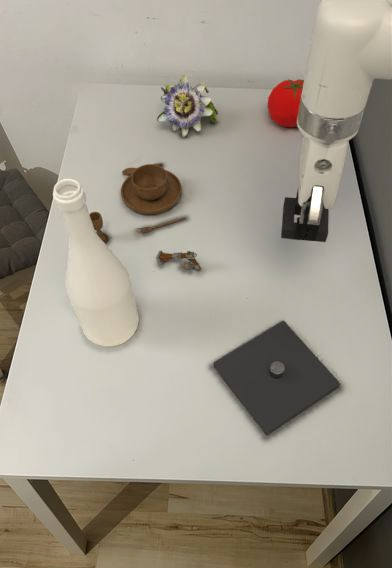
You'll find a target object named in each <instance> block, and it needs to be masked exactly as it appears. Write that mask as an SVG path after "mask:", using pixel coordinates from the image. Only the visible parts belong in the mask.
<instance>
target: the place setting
mask: <svg viewBox="0 0 392 568" xmlns="http://www.w3.org/2000/svg"><path fill="white" fill-rule="evenodd" d="M161 165H163V164H162V163H161V162H160V163H154V164H152V163H149V164H144V165H140V166H139V167H127V168H125V169H123V170H122V171H121V173H122V175H125V176H127V175H128V176H127V177H126V178H125V179H124V181H123V182H122V185H121V186H120V196H121V200H122V201H123V203H124V204H125V206H126V207H128V208H129V209H130V210H132V211H134V212H136V213H138V214H142V215H158V214H162V213H164V212H166V211H168V210H170V209H173V207H174V206H175V205H176V204H177V203H178V201H179V200H180V198H181V195H182V191H183V189H182V183H181V181H180V179H179V177H177V175H175V173H173V172H171V171H169V170H167V169H165V168H163V167H162V166H161ZM89 215H90V218H91V221H92V224H93V227H94V230H95V232H96V233H97V235H98V236H99V237H100V239H101V240H102V241H103V242H104V243H105V244H107V242H108V241H109V236H108V234H107V233H104V232H103V231H102V229H103V227H104V220H103V217H102V214H101V212H99V211H91V212H89ZM183 220H186V218H185V217H180V218H176V219H173V220H170V221H169V220H168V221H166V222H163V223H159V224H156V225H153V226H145V227H137V228H136V232H137V233H138V234H145V233H150V232H152V231H153V230H154V229H156V228H160V227H163V226H166V225H167V226H168V225H170V224H171V225H172V224H173V223H177V222H180V221H183Z"/></svg>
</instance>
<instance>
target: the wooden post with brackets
mask: <svg viewBox="0 0 392 568" xmlns="http://www.w3.org/2000/svg"><path fill="white" fill-rule="evenodd" d="M197 256H198V253H196V252H195V251H190V250H187V252H182V251H180V252H173V253H167V252H164V251H163V250H161V249H160V250H159V251H158V253H157V254H156V256H155V258H156V260H157V262H158V263H159V265H162V264H163V263H164V262H167V261H171V260H173V261H182V260H187V261H188V262H186V261H184V263H182V264H181V267H182V268H184V270H187V269H188V270H191V269H192V268H195V269H196V271H197V272H201V270H202V267H201V264H200V262H198V261H197V259H196V257H197Z"/></svg>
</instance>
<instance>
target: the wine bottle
mask: <svg viewBox="0 0 392 568" xmlns="http://www.w3.org/2000/svg"><path fill="white" fill-rule="evenodd" d="M52 197H53V200H54V202H55V206H56V208H57V209H58V210H60V214H61V217H62V220H63V223H64V226H65V229H66V232H67V236H68V239H69V240H68V242H69V243H68V244H69V245H68V246H69V247H68V255H67V263H66V264H67V265H66V271H65V291H66V294H67V297H68V300H69V302H70V304H71V307H72V309H73V312H74V313H75V316H76V319H77V320H78V323H79V325H80V328H81V330H82V332H83V334H84V336H85V337H86V338H87V339H88V340H89V341H90V342H92V343H93V344H95V345H97V346H100V347H108V348H111V347H117V346H120V345H123V344H124V343H126V342H128V341H129V340H130V339H131V338H132V337H133V336H134V334H135V333H136V332H137V329H138V327H139V321H140V317H139V312H138V307H137V303H136V299H135V295H134V290H133V286H132V281H131V277H130V274H129V271H128V269H127V268H126V266H125V265H124V264H123V263H122V261H121V259H119V257H118V256H116V254H115V253H114V252H113V250H111V249H110V248H109V246H108V245H107V243H104V242H103V241H102V240H101V239H100V237H99V236H98V235H97V233H96V232H97V231H96V230H94V227H93V224H92V221H91V218H90V215H89V214H90V212H89V208H88V206H87V203H86V202H87V196H86V192H85V188H84V186H83V185H82V184H81V183H80V182H79V181H78V180H76V179H74V178H63V179H61V180H59V181H57V182H56V183H55V184H54V186H53V191H52Z"/></svg>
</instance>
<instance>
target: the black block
mask: <svg viewBox="0 0 392 568" xmlns="http://www.w3.org/2000/svg"><path fill="white" fill-rule="evenodd" d="M308 200H311V199H308ZM309 209H310V207H307V206H306V210H305V215H308V214H309ZM329 212H330V209H325V207H324V203H323V208H322V213H321V222H320V226H319V229H318V233H317V237H316V240H315V241H314V242H319V243H326V242H327V238H328V236H329V219H330V218H329V217H330V216H329ZM300 213H301V206H300V205H299V203H298V198H296V197H291V196H290V197H289V196H285V197H284V201H283V207H282V217H281V219H282V220H281V232H280V233H281V234H280V239H286V240H295V239H294V232H295V227H296V222H297V221H295V216H300Z"/></svg>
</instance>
